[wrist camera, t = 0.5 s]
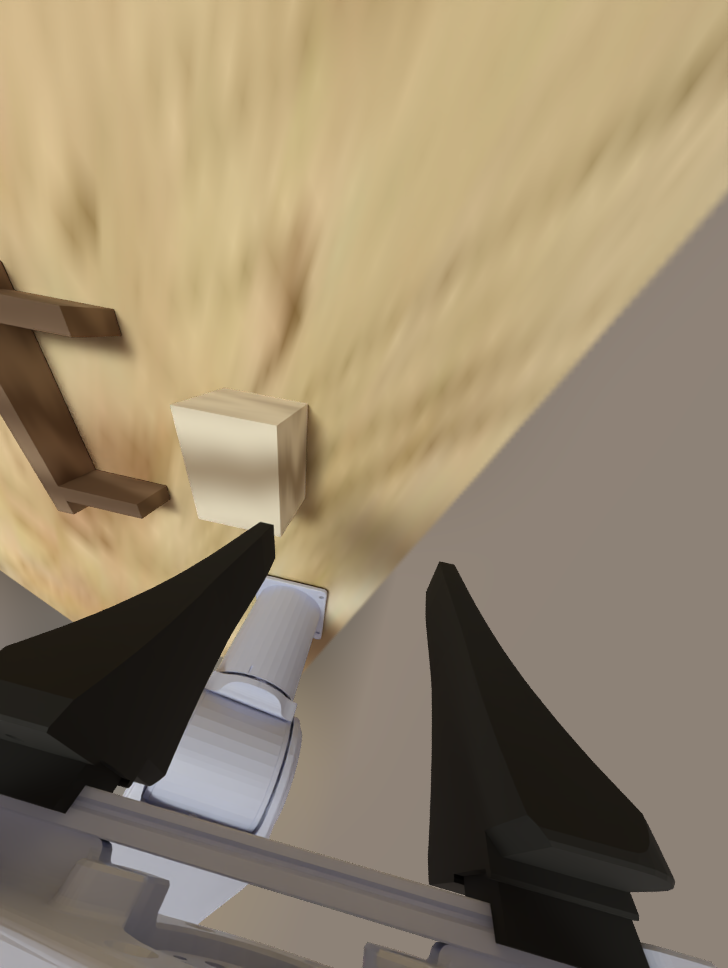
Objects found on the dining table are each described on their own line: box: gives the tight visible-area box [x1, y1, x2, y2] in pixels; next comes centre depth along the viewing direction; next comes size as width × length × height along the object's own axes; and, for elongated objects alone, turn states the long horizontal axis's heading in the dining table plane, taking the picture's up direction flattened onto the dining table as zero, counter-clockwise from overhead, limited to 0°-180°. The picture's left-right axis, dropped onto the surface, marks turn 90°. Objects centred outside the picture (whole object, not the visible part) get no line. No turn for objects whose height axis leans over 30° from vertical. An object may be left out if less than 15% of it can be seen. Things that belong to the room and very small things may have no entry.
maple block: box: [170, 388, 308, 537], centre depth 18 cm, size 8×6×5 cm
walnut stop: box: [0, 261, 170, 519], centre depth 19 cm, size 18×8×3 cm, turn 171°
